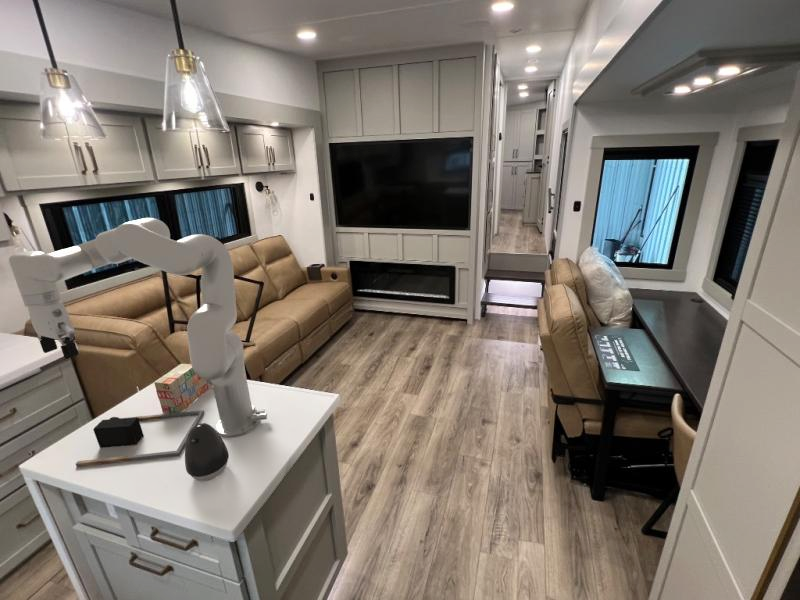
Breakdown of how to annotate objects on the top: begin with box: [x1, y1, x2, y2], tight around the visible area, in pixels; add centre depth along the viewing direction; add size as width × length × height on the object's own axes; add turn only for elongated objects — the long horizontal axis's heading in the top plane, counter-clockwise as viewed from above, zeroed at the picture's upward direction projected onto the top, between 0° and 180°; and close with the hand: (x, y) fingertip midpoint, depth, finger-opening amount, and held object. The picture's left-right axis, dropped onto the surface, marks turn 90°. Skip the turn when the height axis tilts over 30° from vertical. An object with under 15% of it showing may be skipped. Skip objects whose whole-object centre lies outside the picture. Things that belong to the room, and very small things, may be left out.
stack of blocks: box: [153, 363, 213, 414], centre depth 135 cm, size 21×6×12 cm, turn 168°
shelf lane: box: [75, 413, 163, 468], centre depth 115 cm, size 14×20×1 cm
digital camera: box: [93, 416, 145, 449], centre depth 114 cm, size 10×5×7 cm, turn 95°
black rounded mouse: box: [184, 422, 230, 482], centre depth 99 cm, size 10×10×15 cm
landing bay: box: [130, 409, 206, 462], centre depth 116 cm, size 13×20×1 cm, turn 7°
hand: (61, 353), depth 109 cm, fingers open, 9 cm apart
